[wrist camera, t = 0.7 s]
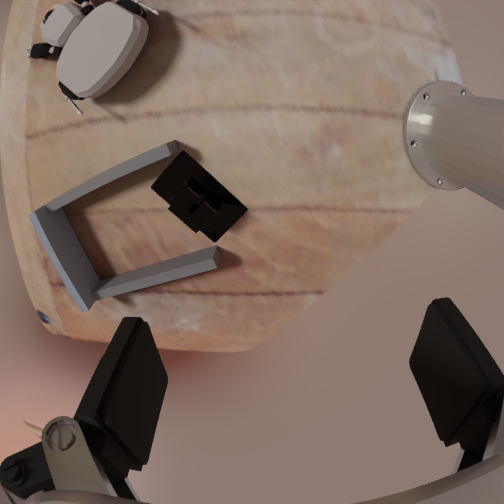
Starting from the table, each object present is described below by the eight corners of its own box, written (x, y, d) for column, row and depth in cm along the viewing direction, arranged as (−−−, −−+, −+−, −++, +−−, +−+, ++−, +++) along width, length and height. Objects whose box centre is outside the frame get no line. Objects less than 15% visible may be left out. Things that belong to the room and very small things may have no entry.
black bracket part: (264, 212, 32) (266, 229, 28) (219, 254, 35) (214, 276, 31) (178, 133, 28) (165, 139, 24) (137, 184, 31) (120, 197, 27)
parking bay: (174, 139, 28) (159, 146, 24) (220, 254, 34) (214, 278, 29) (51, 200, 31) (28, 215, 27) (98, 289, 37) (82, 311, 32)
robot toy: (36, 59, 23) (104, 118, 27) (12, 57, 19) (80, 120, 23) (94, -21, 19) (176, 26, 22) (73, -33, 15) (160, 12, 18)
